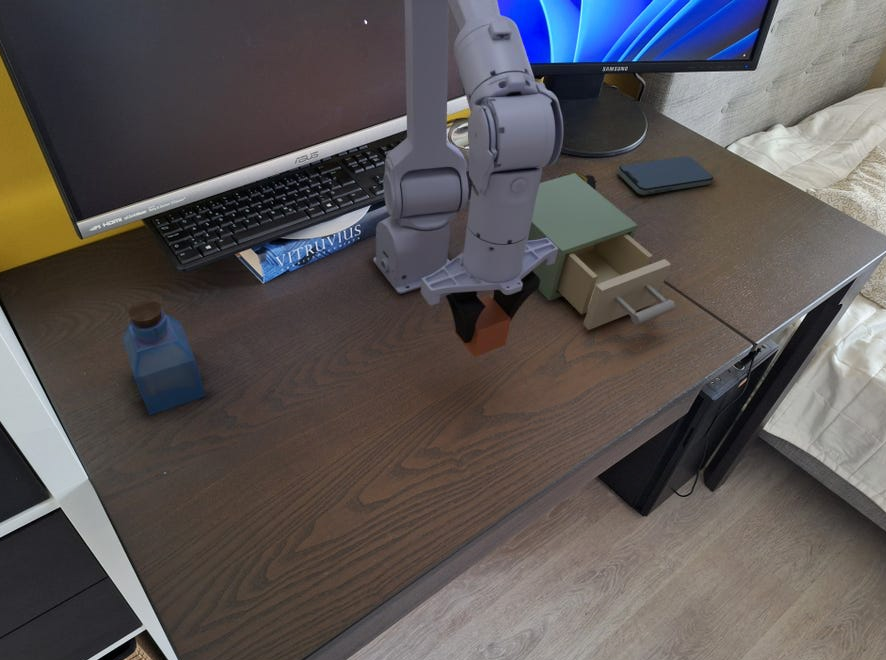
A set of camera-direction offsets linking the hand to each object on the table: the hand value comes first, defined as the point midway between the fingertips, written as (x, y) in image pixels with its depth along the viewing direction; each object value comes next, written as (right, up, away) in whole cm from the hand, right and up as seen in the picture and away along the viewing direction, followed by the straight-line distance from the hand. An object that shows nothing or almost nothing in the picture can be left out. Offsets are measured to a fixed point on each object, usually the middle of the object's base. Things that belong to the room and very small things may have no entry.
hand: (481, 329), depth 71 cm
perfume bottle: (-35, -6, +6) cm, 36 cm away
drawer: (+18, +5, +19) cm, 26 cm away
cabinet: (+13, +11, +25) cm, 30 cm away
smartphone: (+34, +27, +42) cm, 60 cm away
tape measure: (+18, +22, +35) cm, 45 cm away
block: (0, -1, +1) cm, 1 cm away
